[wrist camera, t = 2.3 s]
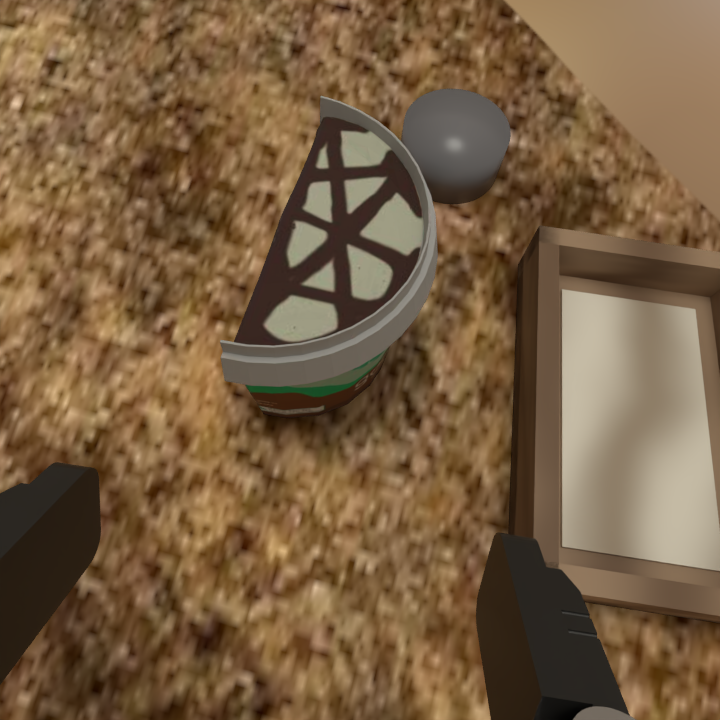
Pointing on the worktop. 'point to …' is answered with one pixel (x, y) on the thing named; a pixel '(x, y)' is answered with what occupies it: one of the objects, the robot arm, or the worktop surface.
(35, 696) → the worktop surface
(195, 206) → the worktop surface
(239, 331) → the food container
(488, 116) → the grey domed puck
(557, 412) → the tray
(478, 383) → the worktop surface
